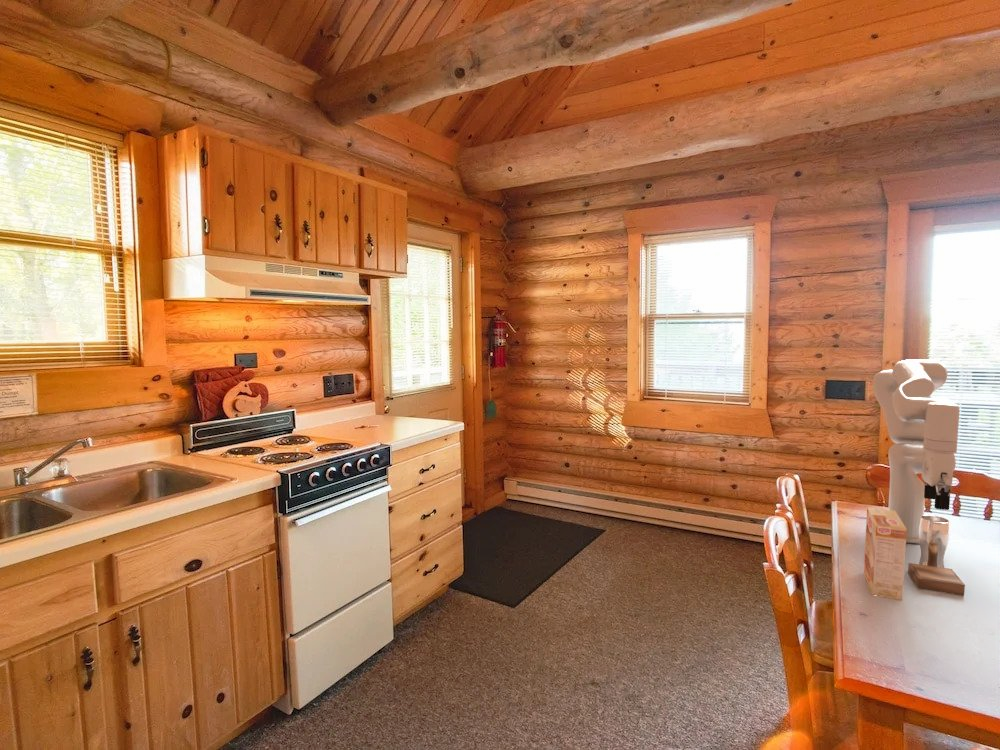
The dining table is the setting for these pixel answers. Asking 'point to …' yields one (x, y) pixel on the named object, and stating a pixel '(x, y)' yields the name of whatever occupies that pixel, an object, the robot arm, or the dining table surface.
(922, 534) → the beer glass
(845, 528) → the dining table surface
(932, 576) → the oak board
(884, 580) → the coffeecake box
